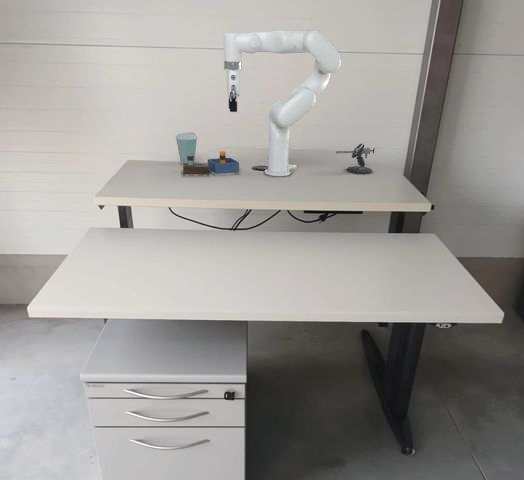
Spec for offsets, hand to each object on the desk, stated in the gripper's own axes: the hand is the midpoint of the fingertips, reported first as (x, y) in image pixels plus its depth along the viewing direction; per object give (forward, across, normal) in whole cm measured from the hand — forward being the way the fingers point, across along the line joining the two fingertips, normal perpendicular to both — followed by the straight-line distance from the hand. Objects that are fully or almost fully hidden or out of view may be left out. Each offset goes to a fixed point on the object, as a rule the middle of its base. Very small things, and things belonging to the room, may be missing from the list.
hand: (232, 110), depth 224 cm
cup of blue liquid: (+28, +20, +22) cm, 41 cm away
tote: (+28, +5, +4) cm, 29 cm away
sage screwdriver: (+27, 0, +20) cm, 34 cm away
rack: (+28, 0, +18) cm, 33 cm away
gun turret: (+29, +10, -62) cm, 69 cm away
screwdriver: (+28, +5, +5) cm, 28 cm away
